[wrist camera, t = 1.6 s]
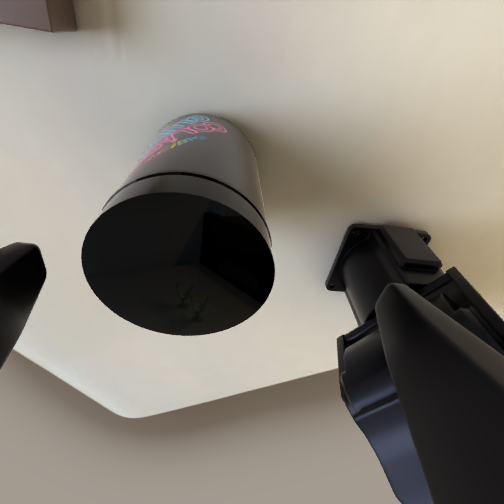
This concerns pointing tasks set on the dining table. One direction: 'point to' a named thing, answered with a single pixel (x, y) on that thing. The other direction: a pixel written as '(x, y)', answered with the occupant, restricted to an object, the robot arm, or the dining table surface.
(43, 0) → the walnut block
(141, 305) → the supplement container
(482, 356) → the robot arm
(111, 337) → the dining table surface
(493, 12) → the dining table surface
